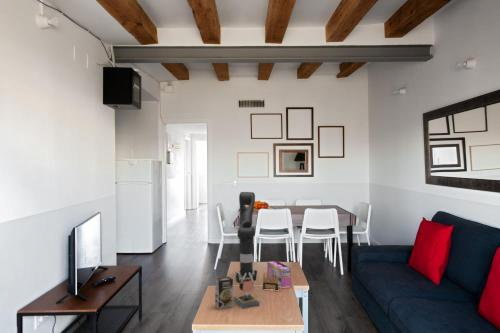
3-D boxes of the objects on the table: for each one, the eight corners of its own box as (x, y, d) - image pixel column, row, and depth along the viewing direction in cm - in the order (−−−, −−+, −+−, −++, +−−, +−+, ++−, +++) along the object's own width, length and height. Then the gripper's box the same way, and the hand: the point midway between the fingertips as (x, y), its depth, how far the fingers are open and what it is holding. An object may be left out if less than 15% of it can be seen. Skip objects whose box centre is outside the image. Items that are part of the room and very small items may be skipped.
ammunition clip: (278, 290, 204) (278, 272, 204) (278, 291, 202) (278, 273, 203) (263, 288, 207) (263, 271, 208) (262, 289, 205) (262, 272, 206)
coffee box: (218, 309, 173) (218, 281, 174) (214, 305, 178) (214, 278, 179) (233, 306, 177) (233, 278, 178) (228, 302, 183) (228, 275, 184)
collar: (239, 289, 184) (239, 279, 185) (248, 288, 187) (248, 278, 187) (243, 292, 179) (243, 282, 179) (252, 291, 182) (252, 281, 182)
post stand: (233, 300, 187) (233, 285, 187) (249, 297, 191) (249, 283, 192) (242, 308, 174) (242, 292, 175) (259, 305, 179) (259, 290, 179)
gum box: (266, 279, 228) (266, 261, 229) (275, 277, 231) (275, 259, 232) (281, 289, 206) (281, 269, 207) (291, 287, 209) (291, 267, 210)
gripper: (254, 258, 191) (254, 285, 190) (233, 260, 185) (233, 288, 184) (259, 260, 184) (259, 288, 183) (237, 263, 178) (237, 292, 177)
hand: (246, 288), depth 183 cm, fingers closed on collar, 6 cm apart
